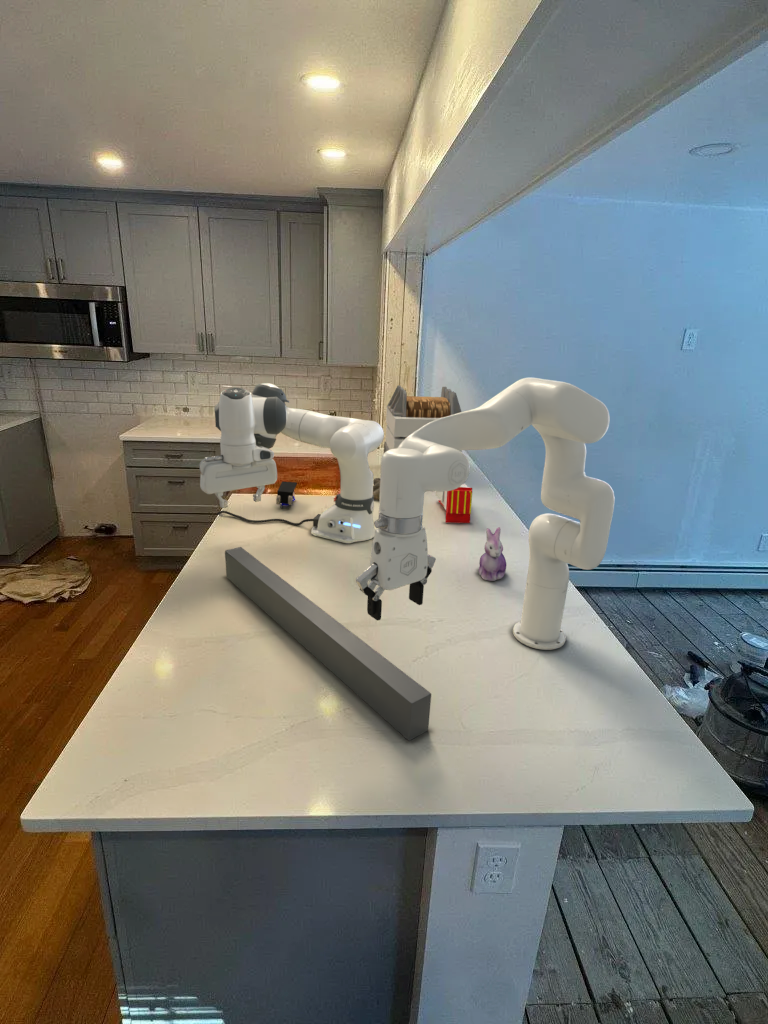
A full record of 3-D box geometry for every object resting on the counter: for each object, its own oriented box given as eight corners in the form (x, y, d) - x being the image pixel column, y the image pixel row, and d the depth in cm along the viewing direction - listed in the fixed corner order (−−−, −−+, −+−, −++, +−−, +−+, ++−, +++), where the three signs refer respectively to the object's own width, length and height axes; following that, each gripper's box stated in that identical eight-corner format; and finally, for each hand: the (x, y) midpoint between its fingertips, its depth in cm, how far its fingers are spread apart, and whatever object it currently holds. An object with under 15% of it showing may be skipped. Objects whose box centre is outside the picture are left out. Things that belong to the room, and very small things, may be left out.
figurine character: (293, 513, 218) (297, 497, 231) (292, 495, 215) (297, 480, 228) (275, 513, 218) (281, 496, 231) (274, 495, 214) (280, 479, 228)
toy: (463, 477, 237) (476, 489, 207) (461, 508, 239) (474, 524, 210) (434, 476, 236) (443, 488, 207) (432, 507, 239) (441, 523, 210)
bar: (226, 577, 163) (224, 550, 160) (242, 573, 166) (240, 546, 163) (408, 741, 104) (411, 703, 101) (428, 730, 107) (431, 693, 104)
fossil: (369, 475, 252) (396, 457, 247) (382, 491, 255) (409, 474, 250) (363, 495, 232) (392, 476, 227) (377, 513, 235) (406, 494, 230)
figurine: (489, 584, 165) (495, 537, 160) (469, 570, 174) (474, 524, 169) (515, 579, 169) (521, 532, 164) (493, 565, 178) (499, 520, 173)
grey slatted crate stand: (382, 463, 289) (386, 382, 275) (445, 464, 293) (451, 384, 279) (390, 482, 257) (394, 392, 243) (460, 483, 261) (468, 394, 247)
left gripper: (203, 460, 137) (207, 514, 142) (279, 451, 149) (280, 501, 154) (194, 455, 142) (197, 507, 147) (268, 446, 154) (269, 494, 159)
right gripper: (373, 538, 89) (369, 633, 95) (451, 518, 100) (444, 604, 105) (346, 524, 95) (344, 614, 101) (423, 506, 105) (417, 589, 111)
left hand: (240, 504), depth 150 cm, fingers open, 8 cm apart
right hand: (395, 609), depth 103 cm, fingers open, 9 cm apart
